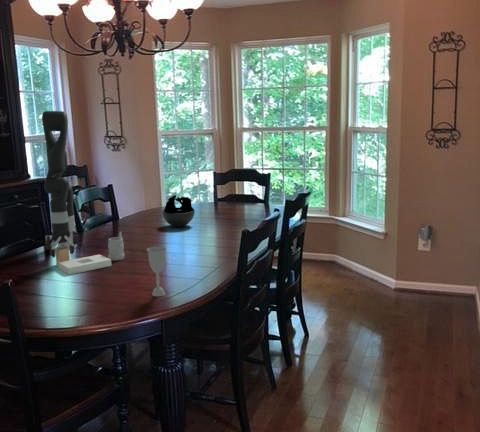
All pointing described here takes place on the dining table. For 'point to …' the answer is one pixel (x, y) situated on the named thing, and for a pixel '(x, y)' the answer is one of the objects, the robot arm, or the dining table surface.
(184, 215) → the coal bowl
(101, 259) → the socket plate
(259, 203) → the dining table surface
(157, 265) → the chalice
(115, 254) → the mug
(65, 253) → the plug
